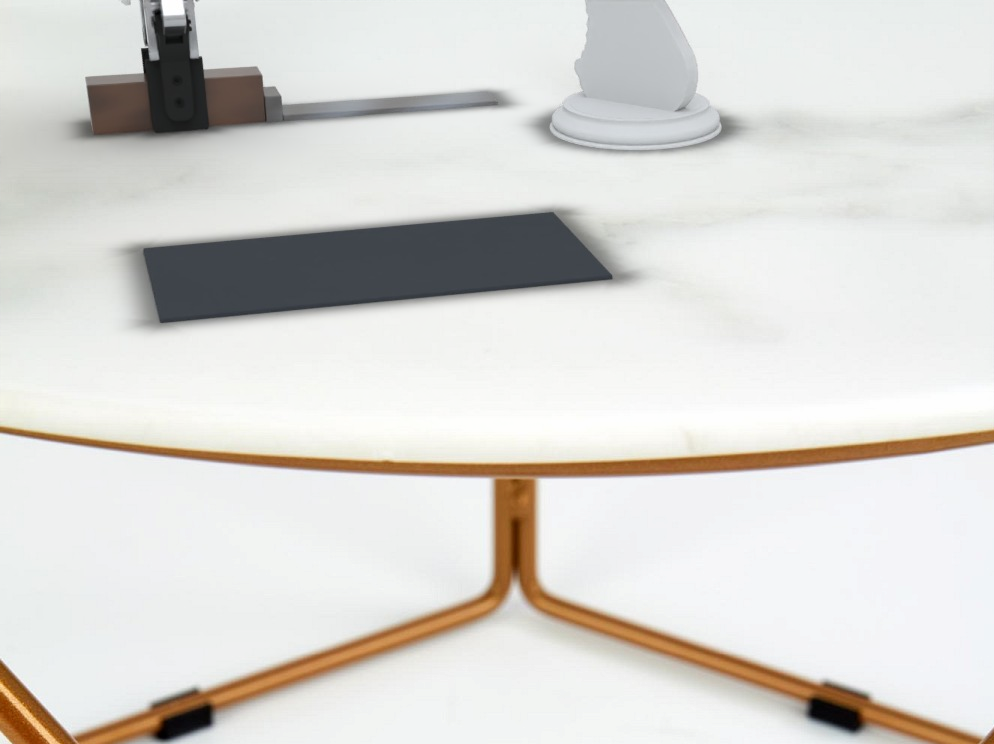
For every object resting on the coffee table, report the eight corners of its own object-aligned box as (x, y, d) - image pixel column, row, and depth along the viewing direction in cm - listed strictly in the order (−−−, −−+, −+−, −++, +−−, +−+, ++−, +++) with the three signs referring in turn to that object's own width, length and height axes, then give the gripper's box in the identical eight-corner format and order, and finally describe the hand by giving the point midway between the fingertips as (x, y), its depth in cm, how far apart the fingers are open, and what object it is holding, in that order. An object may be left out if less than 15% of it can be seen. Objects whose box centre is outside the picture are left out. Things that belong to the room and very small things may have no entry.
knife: (93, 136, 99) (86, 85, 97) (91, 126, 101) (84, 76, 99) (498, 109, 103) (497, 60, 102) (488, 99, 105) (487, 51, 104)
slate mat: (161, 332, 73) (159, 318, 72) (144, 260, 81) (143, 247, 80) (612, 288, 77) (612, 275, 76) (553, 223, 85) (553, 211, 84)
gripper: (62, -244, 96) (106, 98, 106) (73, -223, 83) (122, 164, 93) (196, -247, 98) (227, 90, 108) (228, -227, 85) (259, 154, 95)
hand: (178, 122), depth 101 cm, fingers closed on knife, 2 cm apart
